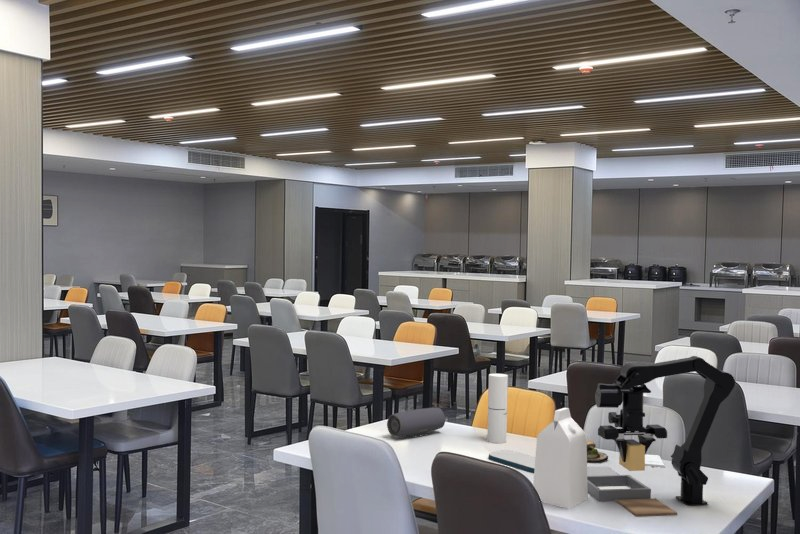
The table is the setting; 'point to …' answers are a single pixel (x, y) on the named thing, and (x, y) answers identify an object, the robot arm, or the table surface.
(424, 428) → the bluetooth speaker
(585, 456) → the milk
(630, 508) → the walnut board
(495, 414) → the cylindrical container
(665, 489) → the table surface
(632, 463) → the ochre module
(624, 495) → the equipment case
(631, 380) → the robot arm
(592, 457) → the burger
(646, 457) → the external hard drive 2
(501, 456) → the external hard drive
